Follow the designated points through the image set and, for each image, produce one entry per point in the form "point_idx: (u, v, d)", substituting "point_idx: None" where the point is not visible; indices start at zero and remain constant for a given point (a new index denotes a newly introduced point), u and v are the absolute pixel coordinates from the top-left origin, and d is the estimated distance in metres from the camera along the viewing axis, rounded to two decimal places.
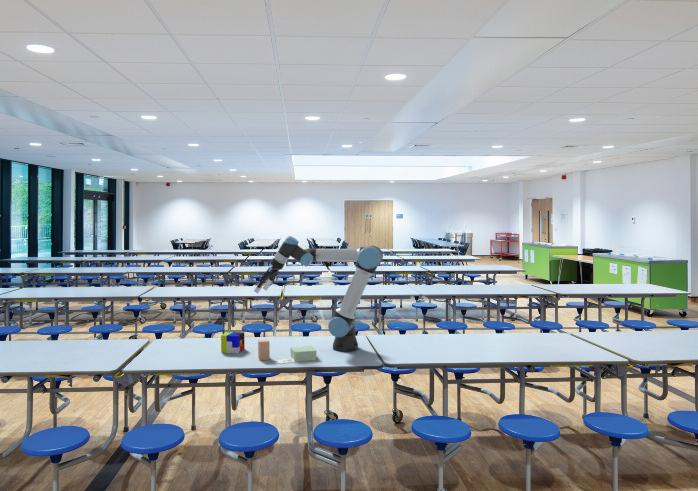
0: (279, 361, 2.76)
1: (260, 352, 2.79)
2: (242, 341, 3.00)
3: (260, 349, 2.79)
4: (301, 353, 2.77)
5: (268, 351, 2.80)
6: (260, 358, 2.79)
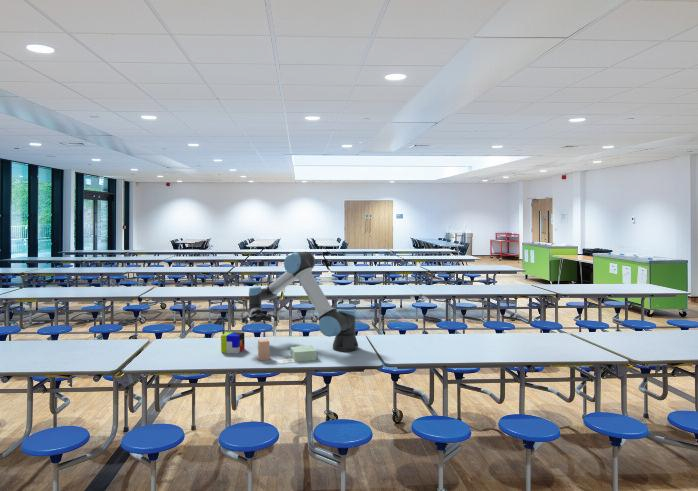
0: (279, 361, 2.76)
1: (260, 352, 2.79)
2: (242, 341, 3.00)
3: (260, 349, 2.79)
4: (301, 353, 2.77)
5: (268, 351, 2.80)
6: (260, 358, 2.79)
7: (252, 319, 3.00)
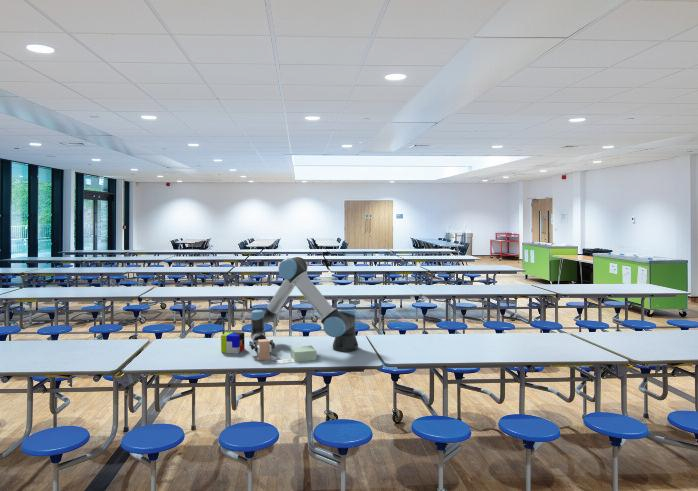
0: (279, 361, 2.76)
1: (260, 352, 2.79)
2: (242, 341, 3.00)
3: (260, 349, 2.79)
4: (301, 353, 2.77)
5: (268, 351, 2.80)
6: (260, 358, 2.79)
7: None
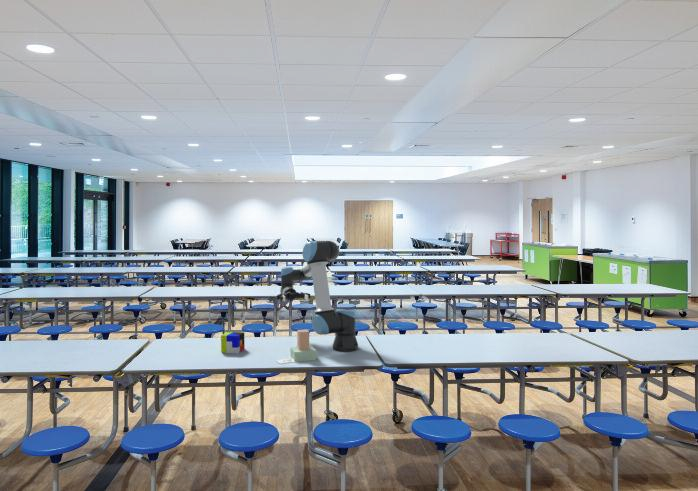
0: (279, 361, 2.76)
1: (300, 342, 2.80)
2: (242, 341, 3.00)
3: (300, 339, 2.80)
4: (301, 353, 2.77)
5: (308, 341, 2.81)
6: (300, 348, 2.80)
7: (286, 297, 3.10)
